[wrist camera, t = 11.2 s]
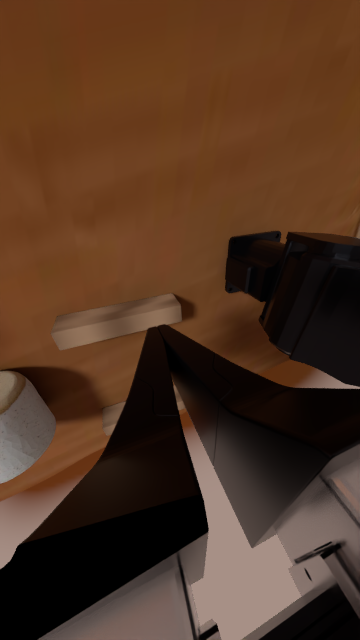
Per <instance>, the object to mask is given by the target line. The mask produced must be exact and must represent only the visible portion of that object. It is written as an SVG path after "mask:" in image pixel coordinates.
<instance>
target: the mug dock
mask: <svg viewBox="0 0 360 640" xmlns="http://www.w3.org/2000/svg"><path fill="white" fill-rule="evenodd" d="M181 321H182V316H181V305H180V303H179V302H178V300H177V299H176V298H175V296H174V295H173V294H172V293H171V294H166V295H161V296H156V297H151V298H146V299H141V300H136V301H131V302H126V303H121V304H116V305H111V306H106V307H101V308H96V309H91V310H86V311H81V312H76V313H71V314H66V315H61V316H57V318H56V321H55V323H54V326H53V328H52V331H51V335H52V337H53V339H54V341H55V342H56V344H57V346H58V348H59V350H64V349H68V348H72V347H76V346H81V345H85V344H89V343H93V342H97V341H101V340H106V339H110V338H114V337H118V336H122V335H126V334H131V333H135V332H139V331H143V330H147V329H148V328H150V327H154V326H156V327H157V326H158V325H162V324H166V325H168V324H172V323H177V322H181ZM174 391H175V396H176V401H177V405H178V410H181V409H184V408H186V407H185V405H184V403H183V401H182V399H181V397H180V395H179V392H178V390H177V388H176V386H174ZM125 402H126V401H125ZM125 402H122V403H118V404H115V405H112V406H109V407H106V408H103V430H104V432H105V434H106V436H107V435H110V434H112V432H113V430H114V428H115V425H116V423H117V421H118V419H119V416H120V414H121V412H122V410H123V407H124V405H125Z"/></svg>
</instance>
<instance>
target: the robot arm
mask: <svg viewBox="0 0 360 640" xmlns="http://www.w3.org/2000/svg"><path fill="white" fill-rule="evenodd" d="M276 234H277V236H276ZM275 236H276V237H275ZM280 238H281V232H280V231H271V232H263V233H256V234H249V235H242V236H234V237H232V238H230V240H229V247H228V258H227V262H226V275H225V280H226V285H225V291H226V292H228V293H233V292H238V291H243V292H244V293H246V294H247V293H248V294H249V295H251V296H252V297H254V298H255V299H257V300H258V301H260V302H263V301H265V302H266V303H265V306H264V309H263V312H262V315H261V316H260V318H259V322H260V324H261V325H262V327H263V328H264V330H265V332H266V333H267V335H268V336H269V341H270V342H271V343H272V344H273V345H274V346H275V347H276V348H278V349H279V350H280V351H282V352H283V353H285V354H287V355H289V358H290V359H291V360H294V361H298V362H301V363H305V364H307V365H310V366H312V367H315V368H317V369H319V370H321V371H323V372H325V373H327V374H328V375H330V376H332V377H334V378H336V379H337V380H339V381H341V382H343V383H345V384H349V385H354V386H358V387H360V239H358V238H355V237H348V236H341V235H334V234H324V233H304V232H288V234H287V237H286V239H287V241H286V244H283V243H279V242H280ZM234 240H235V243H234V244H233V241H234ZM229 288H230V290H229ZM172 380H173V382H174V384H175V386H176V388H177V390H178V392H179V395H180V397H181V399H182V401H183V403H184V405H185V407H186V409H187V412H188V414H189V416H190V418H191V420H192V422H193V424H194V426H195V429H196V431H197V433H198V435H199V437H200V439H201V441H202V443H203V446H204V448H205V450H206V452H207V454H208V456H209V458H210V461H211V463H212V465H213V466H214V469H215V471H216V473H217V475H218V478H219V480H220V482H221V484H222V486H223V488H224V490H225V493H226V495H227V497H228V499H229V501H230V503H231V505H232V508H233V510H234V512H235V514H236V516H237V518H238V520H239V522H240V525H241V526H242V529H243V530H244V533H245V535H246V537H247V539H248V541H249V544H250V545H251V547H252V548H254V547H255V546H257V545H259V544H260V543H262V542H264V541H266V540H267V539H269V538H270V537H272V536H274V535H276V534H277V535H278V537H279V539H280V541H281V543H282V545H283V547H284V549H285V551H286V553H287V555H288V557H289V558H290V560H291V562H292V564H293V566H292V567H290V568H289V571H290V574H291V576H292V578H293V580H294V582H295V584H296V586H297V588H298V590H299V592H300V594H301V596H302V597H301V598H299V599H298V600H296V601H295V602H294V603H292V604H291V605H289V606H288V607H287V608H285V609H284V610H282V611H281V612H280V613H278V614H277V615H275V616H274V617H273V618H271V619H270V620H268V621H267V622H266V623H264V624H263V625H261V626H260V627H259V628H257V629H256V630H254V631H253V632H252V633H250V634H249V635H247V636H246V637H244V638H243V639H242V640H360V389H329V388H327V389H326V388H293V387H287V386H283V385H280V384H278V383H275V382H273V381H271V380H268V379H266V378H264V377H262V376H260V375H258V374H255V373H253V372H251V371H249V370H247V369H244V368H242V367H240V366H238V365H236V364H234V363H232V362H230V361H229V360H227V359H225V358H223V357H221V356H220V355H218V354H215V353H214V352H213V351H211V350H209V349H207V348H206V347H204V346H202V345H201V344H199V343H197V342H195V341H194V340H192V339H190V338H189V337H187V336H185V335H183V334H182V333H180V332H178V331H177V330H175V329H173V328H171V327H170V326H168V325H166V324H162V325H158V326H157V327H156V326H154V327H150V328H148V330H147V333H146V337H145V340H144V344H143V347H142V351H141V355H140V358H139V362H138V365H137V369H136V372H135V376H134V379H133V382H132V386H131V389H130V392H129V395H128V398H127V400H126V402H125V405H124V407H123V410H122V412H121V414H120V416H119V419H118V421H117V423H116V425H115V428H114V430H113V432H112V434H111V437H110V439H109V441H108V443H107V445H106V448H105V450H104V452H103V453H102V455H101V457H100V458H99V460H98V461H97V463H96V464H95V465H94V466H93V468H92V469H91V470H90V471H89V472H88V473H87V474H86V475H85V476H84V478H83V479H82V480H81V481H80V482H79V483H78V484H77V485H76V486H75V488H74V489H73V490H72V491H71V492H70V493H69V494H68V495H67V496H66V497H65V498H64V500H63V501H62V502H61V503H60V504H59V505H58V506H57V507H56V508H55V509H54V510H53V512H52V513H51V514H50V515H49V516H48V517H47V518H46V519H45V520H44V522H43V523H42V524H41V525H40V526H39V527H38V528H37V529H36V530H35V531H34V532H33V533H32V534H31V535H30V536H29V537H28V538H27V539H25V540H24V541H23V542H22V543H21V544H19V545H18V546H17V548H16V551H15V553H14V555H13V557H12V559H11V560H10V562H8V563H7V564H6V565H5V566H4V567H3V568H2V569H0V640H221V637H220V633H219V630H218V626H217V623H216V622H214V621H213V620H212V619H211V620H209V621H208V622H206V623H205V624H204V625H202V626H200V624H199V620H198V615H197V611H196V607H195V602H194V598H193V594H192V589H191V584H193V583H195V582H196V581H198V580H200V579H201V578H203V574H204V566H205V557H206V548H207V539H208V529H209V528H208V522H207V517H206V511H205V505H204V500H203V497H202V494H201V490H200V487H199V483H198V480H197V477H196V473H195V470H194V467H193V463H192V460H191V457H190V453H189V450H188V447H187V443H186V440H185V437H184V433H183V429H182V424H181V420H180V415H179V410H178V405H177V401H176V396H175V391H174V386H173V382H172Z"/></svg>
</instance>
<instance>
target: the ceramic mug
mask: <svg viewBox="0 0 360 640" xmlns="http://www.w3.org/2000/svg"><path fill="white" fill-rule="evenodd" d="M55 429H56V420H55V417H54V415H53V414H52V412H51V411H50V410H49V408H48V407H47V405H46V404H45V402H44V401H43V399H42V398H41V397H40V395H39V394H38V392H37V391H36V389H35V387H34V386H33V385H32V383H31V382H30V381H29V380H28V379H27V378H26V377H25V376H23V375H22V374H20V373H18V372H14V371H0V484H1V483H4V482H6V481H8V480H11V479H13V478H14V477H16V476H18V475H19V474H21V473H23V472H24V471H25V470H27V469H28V468H29V467H30V466H32V465H33V464H34V463H35V462H36V461H37V460H38V459H39V458H40V457H41V455H42V454H43V453H44V452H45V451H46V449H47V448H48V446H49V445H50V443H51V441H52V439H53V436H54V433H55Z"/></svg>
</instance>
